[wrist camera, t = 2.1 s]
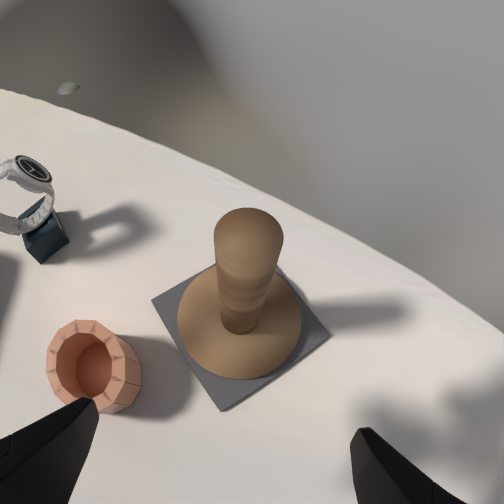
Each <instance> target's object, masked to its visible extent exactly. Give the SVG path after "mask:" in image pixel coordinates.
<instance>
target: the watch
mask: <svg viewBox="0 0 504 504" xmlns="http://www.w3.org/2000/svg"><path fill="white" fill-rule="evenodd" d="M6 176H7V177H6ZM4 177H6V178H7V179H8V180H12V181H15V182H16V183H17V184H18V185H20V186H21V187H22V188H24V189H26V190H28V191H30V192H33V193H43V192H45V193H47V194H46V196H44V197H43V198H42V199H40V200H39V201H38V202H36V203H35V204H34V205H33V206H31V207H30V208H29V209H28V210H26V211H25V212H24V213H23V214H21V215H20V216H19V217H18V220H17V218H16V217H10V216H7V215H4V214H2V213H0V231H1V232H4V233H7V234H11V235H19V236H20V234H22V237H23V241H24V244H25V247H26V250H27V251H28V252H29V253H30V254H31V255H32V256H33V257H34V258H35V259H36V260H37V261H38V262H39V263H40V264H42V263H43V262H44V261H46V260H47V259H48V258H49V257H50V256H52V255H53V254H54V253H55V252H57V251H58V250H59V249H60V248H62V247H63V246H64V245H66V244H67V243H68V242H69V240H68V238H67V236H66V234H65V231H64V229H63V227H62V225H61V223H60V220H59V218H58V216H57V214H56V212H55V210H54V209H53V204H54V190H53V188H52V185H51V182H52V177H51V175H50V173H49V172H48V171H47V169H46V168H44V167H43V166H42V165H41V164H40V163H38V162H37V161H35V160H33V159H31V158H29V157H26V156H22V155H18V156H16V157H15V158H14V159H8V160H6V161H5V162H3V163H2V164H0V180H1V179H3V178H4Z"/></svg>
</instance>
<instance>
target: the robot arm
mask: <svg viewBox="0 0 504 504" xmlns="http://www.w3.org/2000/svg"><path fill="white" fill-rule="evenodd" d="M98 421H99V412H98V409H97V406H96V403H95V401H94V400H93V399H92V398H89V397H86V396H82V397H80V398H78V399H77V400H75V401H73V402H71V403H69V404H68V405H66V406H64V407H62V408H60V409H58V410H57V411H55V412H53V413H51V414H49V415H47V416H45V417H44V418H42V419H40V420H38V421H36V422H34V423H32V424H30V425H28V426H26V427H24V428H22V429H21V430H19V431H17V432H15V433H13V434H12V435H8V436H6V437H4V438H2V439H0V504H68V502H69V499H70V497H71V494H72V492H73V489H74V487H75V484H76V482H77V479H78V477H79V475H80V472H81V470H82V467H83V465H84V463H85V460H86V458H87V456H88V453H89V450H90V447H91V444H92V441H93V437H94V434H95V431H96V427H97V424H98ZM350 453H351V462H352V473H353V482H354V487H355V492H356V496H357V501H358V504H467V503H465V502H463V501H461V500H460V499H458V498H456V497H455V496H453V495H452V494H450V493H449V492H447V491H446V490H445V489H443V488H442V487H440V486H439V485H438V484H437V483H435V482H433V480H432V479H430V478H429V477H428V476H427V475H425V474H424V473H423V472H422V471H420V470H419V469H418V468H417V467H416V466H414V465H413V464H412V463H411V462H410V461H408V460H407V459H406V458H405V457H404V456H403V455H401V454H400V453H399V452H398V451H397V450H395V449H394V448H393V447H392V446H391V445H390V444H389V443H387V442H386V441H385V440H384V439H383V438H382V437H380V436H379V435H378V434H377V433H376V432H375V431H374V430H373V429H371V428H370V427H365V428H359V429H358V430H357V431H356V433H355V435H354V437H353V439H352V441H351V443H350Z"/></svg>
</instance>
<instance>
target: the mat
mask: <svg viewBox="0 0 504 504" xmlns="http://www.w3.org/2000/svg"><path fill="white" fill-rule="evenodd" d="M214 266H216V263H215V264H214V265H212V266H210V267H208V268H207V269H209V268H212V267H214ZM207 269H205V270H203V271H201V272H199V273H198V274H196V275H194V276H192V277H191V278H189V279H187V280H185V281H183V282H182V283H180V284H178V285H176V286H175V287H173V288H171V289H169V290H168V291H166V292H164V293H162V294H161V295H159V296H157V297H155V298H153V299H152V300H151V301H152V303H153V305H154V307H155V308H156V310H157V312H158V314H159V316H160V317H161V319H162V321H163V323H164V324H165V326H166V328H167V330H168V331H169V333H170V335H171V337H172V338H173V340H174V342H175V343H176V345H177V347H178V348H179V350H180V351H181V353H182V355H183V356H184V358H185V360H186V361H187V363H188V364H189V366H190V367H191V369H192V371H193V372H194V374H195V375H196V377H197V378H198V380H199V381H200V383H201V384H202V386H203V387H204V389H205V390H206V392H207V393H208V395H209V396H210V397H211V399H212V400H213V402H214V403H215V405H216V406H217V407H218V409H219V410H220V412H221V411H223V410H224V409H226V408H228V407H229V406H231V405H233V404H234V403H236V402H237V401H239V400H240V399H242V398H244V397H245V396H247V395H248V394H250V393H251V392H253V391H254V390H256V389H257V388H259V387H260V386H262V385H263V384H265V383H266V382H268V381H269V380H271V379H272V378H273V377H275V376H276V375H278V374H279V373H281V372H282V371H283V370H285V369H286V368H288V367H289V366H290V365H292V364H293V363H294V362H296V361H297V360H298V359H300V358H301V357H302V356H304V355H305V354H306V353H308V352H309V351H310V350H312V349H313V348H314V347H316V346H317V345H318V344H319V343H321V342H322V341H323V340H324V339H326V338H327V337H328V336H329V335H330V334H329V333H328V331H327V330H326V329H325V327H324V326H323V325H322V324H321V322H320V321H319V320H318V319H317V317H316V316H315V315H314V314H313V312H312V311H311V310H310V309H309V307H308V306H307V305H306V304H305V302H304V301H303V300H302V299H301V297H300V296H299V295H298V294H297V292H296V291H295V290H294V289H293V287H292V286H291V285H290V284H289V282H288V281H287V280H286V279H285V277H284V276H283V275H282V274H281V272H280V271H279V270H278V269H277V267H276V268H275V271H274V272H275V273H276V274H278V275H279V276H280V277H281V278H282V279H283V280H284V281H285V282H286V283H287V284H288V285H289V286H290V288H291V289H292V291H293V292H294V294H295V296H296V298H297V301H298V303H299V307H300V311H301V331H300V336H299V339H298V341H297V344H296V346H295V348H294V350H293V351H292V353H291V354H290V355H289V357H288V358H287V359H286V360H285V361H284V362H283V363H282V364H281V365H279V366H278V367H277V368H276V369H274V370H272V371H271V372H269V373H267V374H265V375H262V376H260V377H256V378H252V379H245V380H235V379H227V378H224V377H220V376H217V375H215V374H213V373H211V372H209V371H207V370H206V369H204V368H203V367H201V366H200V365H199V364H198V363H197V362H196V361H195V360H194V359H193V358H192V357H191V356H190V354H189V353H188V351H187V350H186V348H185V347H184V345H183V343H182V340H181V337H180V335H179V330H178V322H177V317H178V309H179V304H180V301H181V298H182V296H183V294H184V292H185V290H186V289H187V287H188V286H189V285H190V283H191V282H192V281H193V280H194V279H195V278H196V277H197V276H199V275H200V274H201V273H203V272H204V271H206V270H207Z"/></svg>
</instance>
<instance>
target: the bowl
mask: <svg viewBox="0 0 504 504" xmlns="http://www.w3.org/2000/svg"><path fill="white" fill-rule="evenodd" d="M46 374H47V377H48V379H49V382H50V384H51V387H52V389H53V392H54V394H55V395H56V396H57V397H58V398H59V399H60V400H61V401H62V402H63V403H64V404H66V405H68V404H69V403H71V402H73V401H75V400H77V399H78V398H80V397H82V396H86V397H89V398H92V399H93V400H94V401H95V403H96V406H97V409H98V412H99V414H114V413H116V412H118V411H120V410H122V409H124V408H126V407H128V406H130V405H131V404H132V403H133V401H134V399H135V398H136V396H137V394H138V392H139V390H140V389H141V386H142V372H141V363H140V361H139V359H138V357H137V355H136V353H135V351H134V350H133V348H132V346H131V345H130V344H129V343H127V342H126V341H124V340H123V339H121V338H120V337H118V336H117V335H115V334H114V333H113V332H111V331H110V330H108V329H107V328H105V327H104V326H103V325H101V324H100V323H99V322H97V321H94V320H74V321H73V322H71V323H69V324H67V325H66V326H64V327H62V328H61V329H59V331H57V333H56V335H55V336H54V338H53V340H52V342H51V343H50V345H49V347H48V350H47V361H46Z"/></svg>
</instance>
